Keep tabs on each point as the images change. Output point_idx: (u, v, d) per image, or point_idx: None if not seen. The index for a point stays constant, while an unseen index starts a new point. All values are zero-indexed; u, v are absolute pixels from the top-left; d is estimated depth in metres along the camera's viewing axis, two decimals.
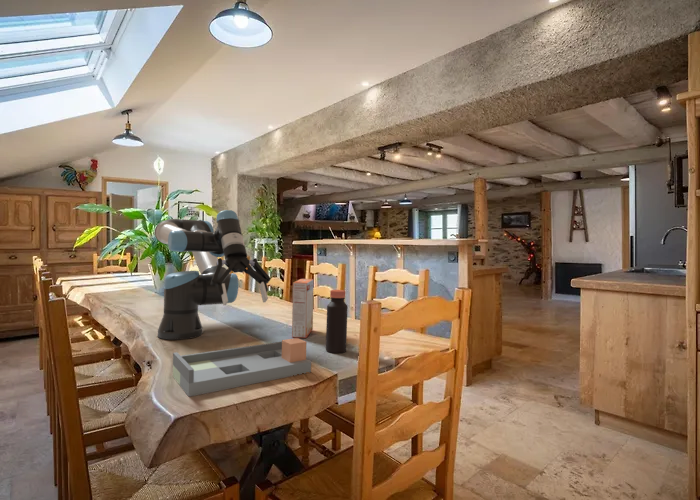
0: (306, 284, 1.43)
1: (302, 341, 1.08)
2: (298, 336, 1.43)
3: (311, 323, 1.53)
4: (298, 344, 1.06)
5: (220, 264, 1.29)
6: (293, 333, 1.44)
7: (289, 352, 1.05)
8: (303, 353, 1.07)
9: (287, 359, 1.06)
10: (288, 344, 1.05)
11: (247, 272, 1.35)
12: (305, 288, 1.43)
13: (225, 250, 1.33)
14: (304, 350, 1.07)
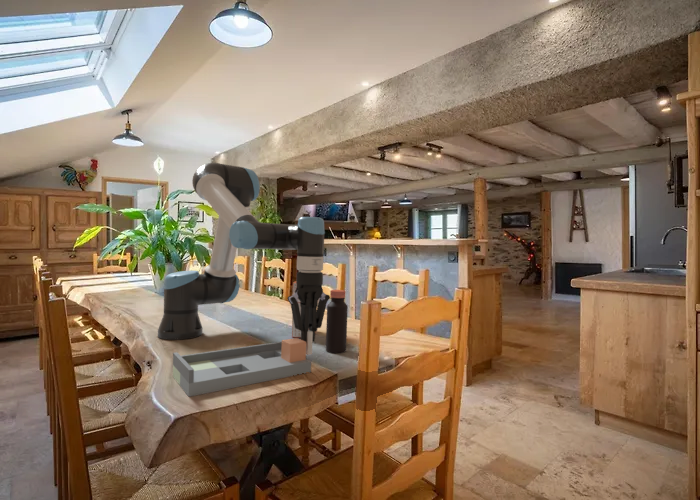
0: None
1: (302, 341, 1.08)
2: (298, 336, 1.43)
3: None
4: (298, 344, 1.06)
5: (296, 305, 1.07)
6: (293, 333, 1.44)
7: (289, 352, 1.05)
8: (303, 353, 1.07)
9: (287, 359, 1.05)
10: (287, 344, 1.05)
11: (309, 305, 1.11)
12: None
13: (300, 277, 1.07)
14: (304, 350, 1.07)
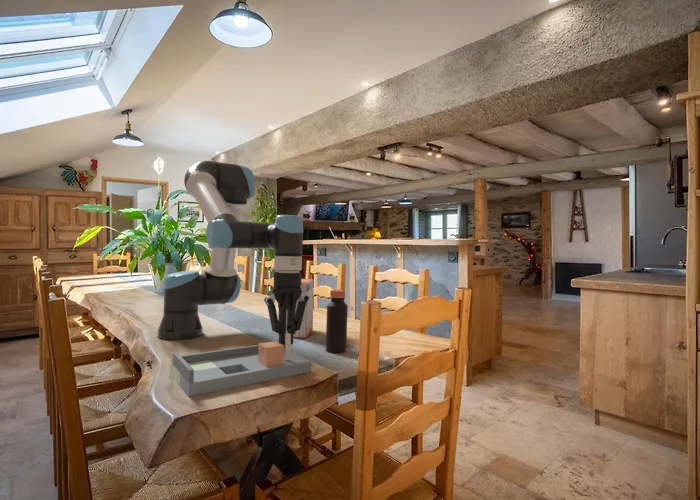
0: (306, 284, 1.43)
1: (279, 344, 1.03)
2: (298, 336, 1.43)
3: (311, 323, 1.53)
4: (275, 348, 1.01)
5: (273, 306, 1.02)
6: None
7: (265, 356, 1.00)
8: (281, 357, 1.03)
9: (263, 363, 1.01)
10: (264, 348, 1.01)
11: (287, 307, 1.07)
12: (305, 288, 1.43)
13: (277, 277, 1.03)
14: (281, 354, 1.03)
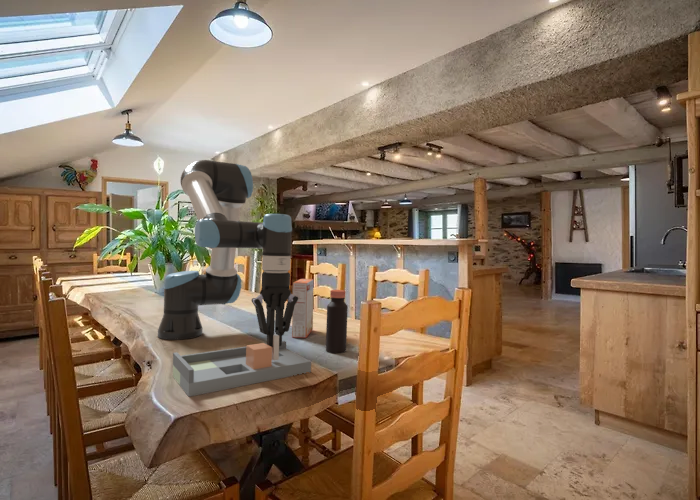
0: (306, 284, 1.43)
1: (267, 346, 1.01)
2: (298, 336, 1.43)
3: (311, 323, 1.53)
4: (263, 350, 0.99)
5: (261, 307, 1.00)
6: (293, 333, 1.44)
7: (253, 358, 0.98)
8: (269, 359, 1.00)
9: (251, 366, 0.99)
10: (251, 350, 0.99)
11: (276, 308, 1.05)
12: (305, 288, 1.43)
13: (264, 277, 1.01)
14: (269, 356, 1.00)
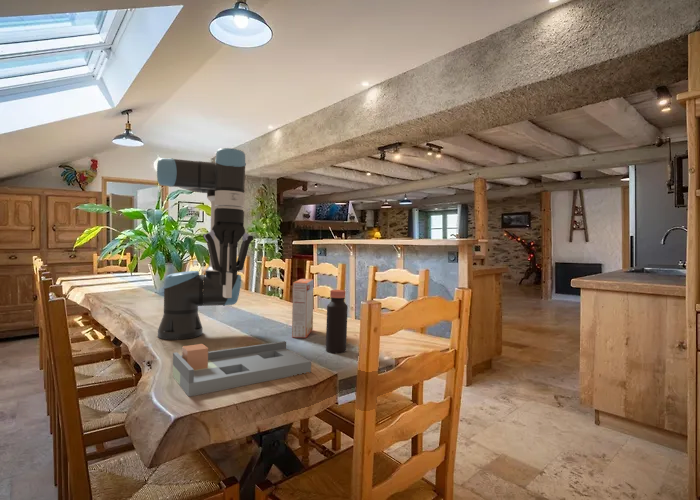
0: (306, 284, 1.43)
1: (204, 347, 0.98)
2: (298, 336, 1.43)
3: (311, 323, 1.53)
4: (197, 351, 0.96)
5: (212, 242, 0.99)
6: (293, 333, 1.44)
7: (186, 360, 0.95)
8: (204, 360, 0.98)
9: None
10: (186, 351, 0.96)
11: (230, 246, 1.03)
12: (305, 288, 1.43)
13: (216, 213, 0.99)
14: (205, 357, 0.98)
